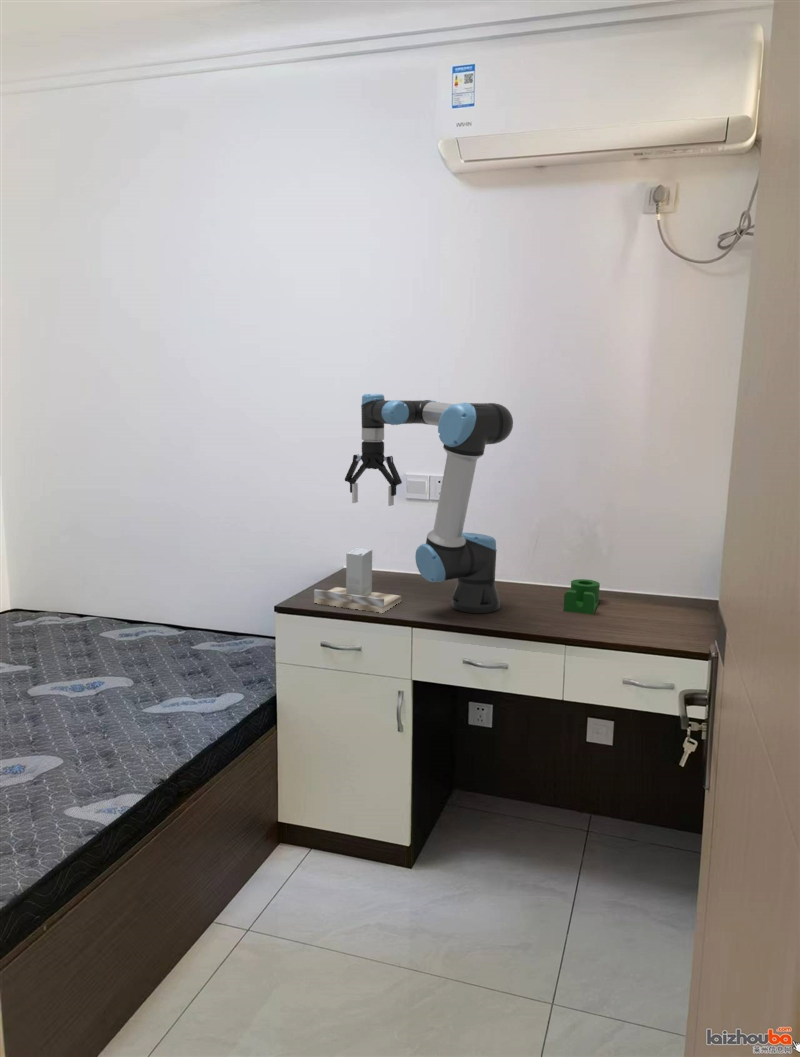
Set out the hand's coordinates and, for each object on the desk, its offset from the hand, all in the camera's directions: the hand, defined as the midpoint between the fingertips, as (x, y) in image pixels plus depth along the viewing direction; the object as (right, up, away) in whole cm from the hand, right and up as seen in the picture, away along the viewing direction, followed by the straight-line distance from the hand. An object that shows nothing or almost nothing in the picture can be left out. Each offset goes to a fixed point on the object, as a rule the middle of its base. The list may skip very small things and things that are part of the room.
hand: (372, 504), depth 257 cm
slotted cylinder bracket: (+67, -33, -15) cm, 76 cm away
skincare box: (-4, -30, -15) cm, 34 cm away
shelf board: (-4, -32, -15) cm, 36 cm away
